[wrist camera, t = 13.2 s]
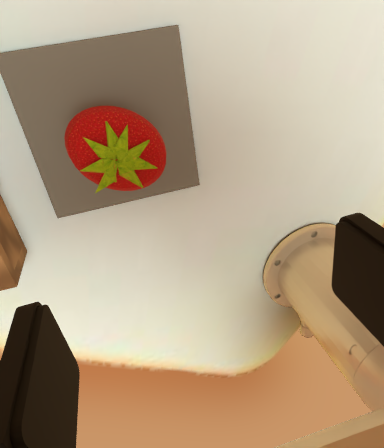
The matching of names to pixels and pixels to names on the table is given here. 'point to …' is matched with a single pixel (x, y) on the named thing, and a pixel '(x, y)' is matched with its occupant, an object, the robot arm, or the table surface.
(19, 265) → the wooden box
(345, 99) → the table surface
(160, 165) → the strawberry
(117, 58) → the mat
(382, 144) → the table surface
